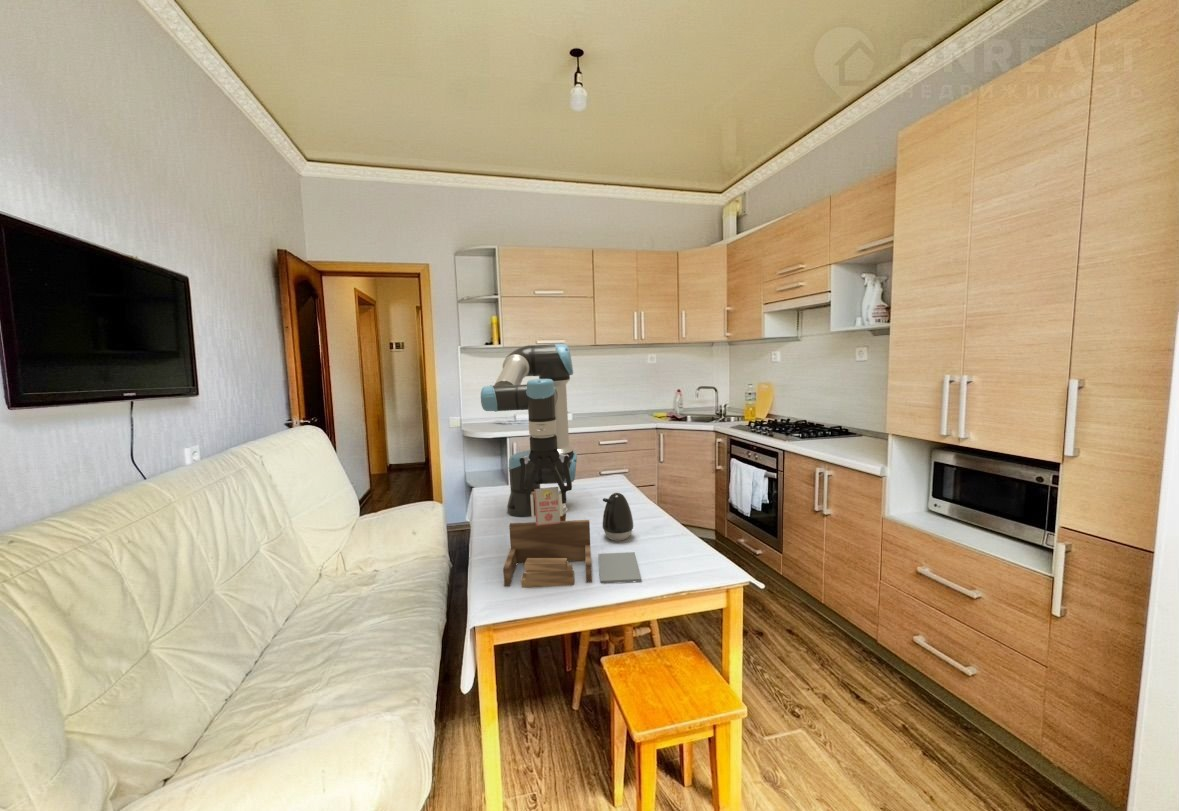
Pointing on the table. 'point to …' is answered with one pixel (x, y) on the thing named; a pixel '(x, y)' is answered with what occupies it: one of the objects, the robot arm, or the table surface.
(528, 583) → the offcut stack
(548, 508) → the tea bag
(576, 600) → the table surface
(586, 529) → the bench
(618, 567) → the mat
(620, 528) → the pump dispenser
